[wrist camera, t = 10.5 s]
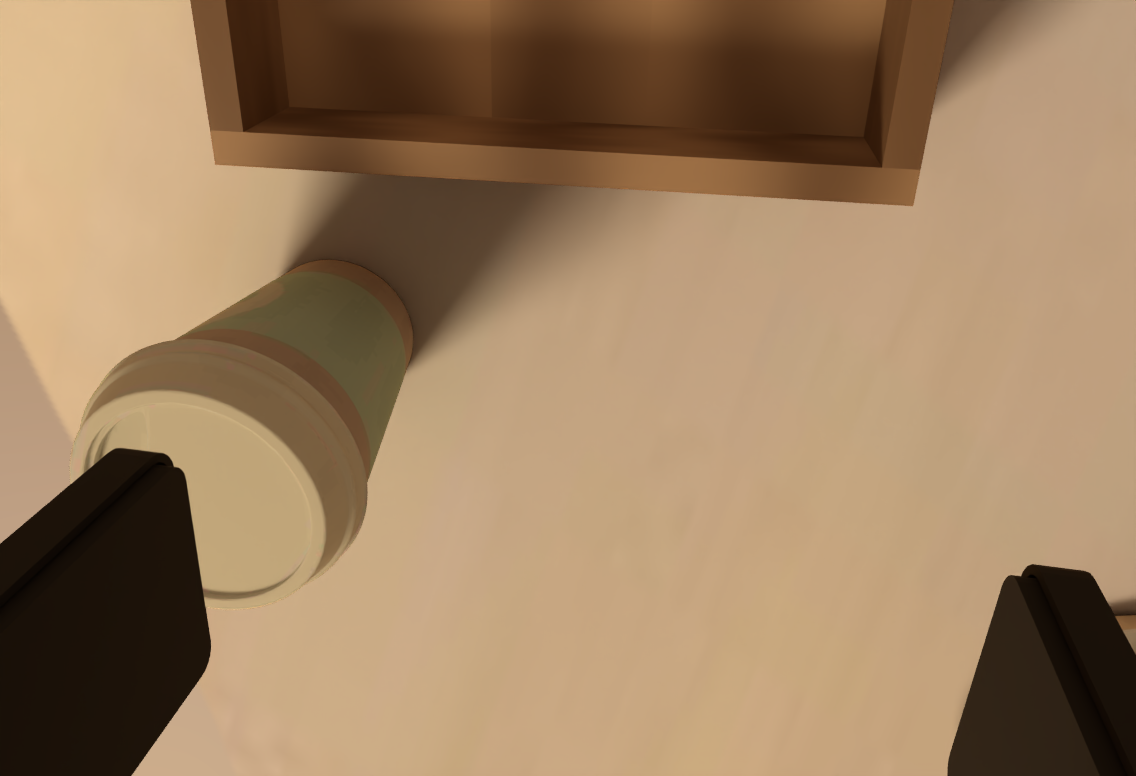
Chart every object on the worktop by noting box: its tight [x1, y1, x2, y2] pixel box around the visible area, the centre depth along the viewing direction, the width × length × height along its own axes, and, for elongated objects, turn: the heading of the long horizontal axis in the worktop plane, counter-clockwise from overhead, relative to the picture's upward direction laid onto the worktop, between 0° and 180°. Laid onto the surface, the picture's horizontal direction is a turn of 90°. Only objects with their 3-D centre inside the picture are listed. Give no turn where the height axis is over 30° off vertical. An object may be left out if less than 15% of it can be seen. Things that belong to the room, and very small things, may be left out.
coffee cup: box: [69, 260, 413, 610], centre depth 32 cm, size 8×9×12 cm
